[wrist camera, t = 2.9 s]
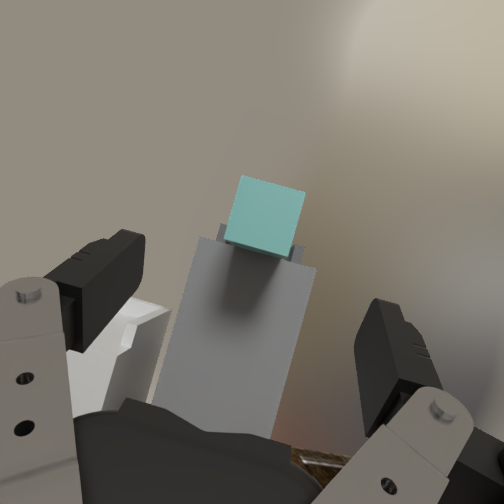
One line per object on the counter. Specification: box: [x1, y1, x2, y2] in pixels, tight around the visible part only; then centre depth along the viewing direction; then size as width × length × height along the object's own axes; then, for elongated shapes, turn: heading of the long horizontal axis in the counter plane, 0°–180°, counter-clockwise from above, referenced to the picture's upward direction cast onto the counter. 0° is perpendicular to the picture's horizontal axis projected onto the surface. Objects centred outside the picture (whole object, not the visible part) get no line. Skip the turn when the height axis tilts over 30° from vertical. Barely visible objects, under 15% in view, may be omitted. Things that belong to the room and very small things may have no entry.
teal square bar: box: [224, 175, 306, 259], centre depth 31 cm, size 4×20×4 cm, turn 179°
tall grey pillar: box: [151, 224, 317, 439], centre depth 36 cm, size 10×13×34 cm
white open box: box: [66, 297, 172, 418], centre depth 36 cm, size 9×15×23 cm, turn 179°
